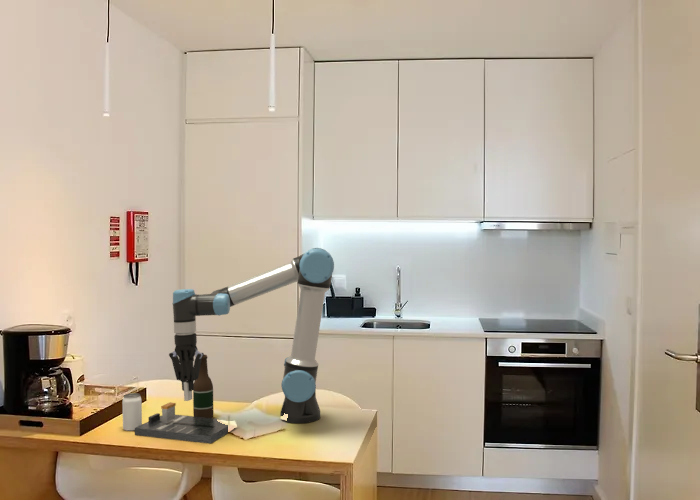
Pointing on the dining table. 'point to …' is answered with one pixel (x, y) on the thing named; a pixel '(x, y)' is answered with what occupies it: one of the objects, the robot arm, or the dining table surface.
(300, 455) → the dining table surface
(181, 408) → the dining table surface
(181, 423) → the board
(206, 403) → the beer bottle
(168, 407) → the fader knob
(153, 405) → the dining table surface
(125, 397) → the can
